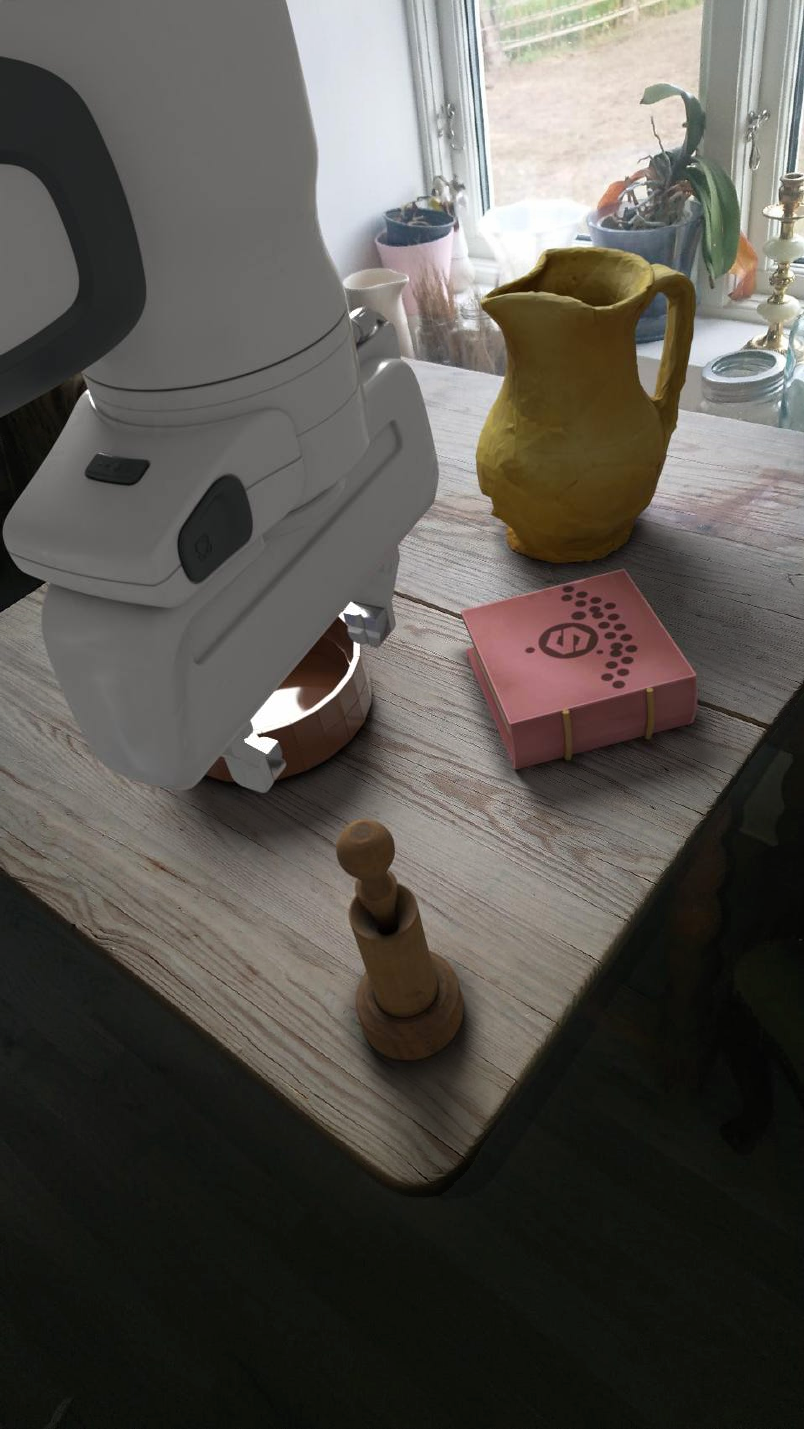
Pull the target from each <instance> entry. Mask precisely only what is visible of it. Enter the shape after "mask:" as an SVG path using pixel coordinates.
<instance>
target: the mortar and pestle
mask: <svg viewBox="0 0 804 1429" xmlns="http://www.w3.org/2000/svg"><path fill="white" fill-rule="evenodd" d="M395 846H396V845H395V840H394V837H393V835H392V833H391V832H390V830H389V829H388V828H387V827H386V826H385V825H384V824H382V823H381V822H379V821H377V820H373V819H367V818H365V819H358V820H355V821H352V822H350V823H349V824H347V825H346V826H345V827H344V828H343V829H342V831H341V832H340V834H339V836H338V838H337V841H336V846H335V853H336V858H337V861H338V864H339V865H340V868H342V870H343V871H345V873H346V874H347V875H349V876H351V877H353V878H354V879H356V881H355V883H354V892H355V896H354V897H353V899H352V900H351V901H350V905H349V907H348V921H349V924H350V927H351V930H352V933H353V936H354V939H355V941H356V945H357V948H358V950H359V953H360V956H361V959H362V963H363V965H364V968H365V973H364V974H363V975H362V977H361V979H360V981H359V983H358V985H357V989H356V992H355V1010H356V1014H357V1017H358V1021H359V1024H360V1026H361V1028H362V1031H363V1034H364V1036H365V1038H366V1039H367V1041H368V1043H369V1044H370V1045H371V1046H372V1047H373V1048H374V1049H375V1050H376V1051H378V1052H379V1053H380V1054H382V1055H383V1056H386V1057H388V1058H390V1059H394V1060H397V1061H417V1060H421V1059H422V1060H423V1059H426V1058H428V1057H431V1056H433V1055H435V1054H437V1053H438V1052H440V1051H441V1050H443V1049H444V1048H445V1047H446V1046H447V1045H449V1043H451V1041H452V1040H453V1039H454V1037H455V1036H456V1034H457V1032H458V1030H459V1029H460V1027H461V1024H462V1022H463V1016H464V1004H465V1003H464V998H463V993H462V989H461V985H460V982H459V978H458V975H457V974H456V972H455V970H454V968H453V966H452V965H451V964H450V963H449V961H448V960H446V959H445V957H443V956H442V955H440V954H438V953H436V952H434V951H432V950H430V949H429V946H428V942H427V937H426V934H425V930H424V926H423V922H422V917H421V913H420V909H419V904H418V901H417V897H416V896H415V895H414V893H413V892H412V891H411V890H410V889H409V888H408V887H406V886H405V885H403V884H400V883H398V880H397V877H396V875H395V873H394V872H393V871H391V870H390V869H389V868H390V867H391V866H392V864H393V861H394V859H395V855H396V847H395Z"/></svg>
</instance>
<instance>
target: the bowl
mask: <svg viewBox="0 0 804 1429" xmlns="http://www.w3.org/2000/svg"><path fill="white" fill-rule="evenodd" d="M343 612H344V611H342V612H341V614H340V615H339V616H338V617H337V618H336V619H335V621H334V622H333V623H332V624H331V625H330V627H329V628H328V629H327V630H326V631H325V632H324V634H323V635H322V636H321V637H320V638H319V640H318V641H317V642H316V643H315V644H314V646H313V647H312V648H311V649H310V650H309V651H308V653H307V654H306V655H305V656H304V657H303V659H302V660H301V661H300V662H299V663H298V665H297V666H296V667H295V668H294V669H293V670H292V672H291V673H290V674H289V675H288V676H287V678H286V679H285V680H284V681H283V682H282V683H281V685H280V686H279V687H278V688H277V689H276V691H275V692H274V693H273V694H272V695H271V696H270V698H269V699H268V700H267V701H266V702H265V704H264V705H263V706H262V707H261V708H260V709H259V711H258V712H257V713H256V714H255V715H254V717H253V718H252V719H251V723H252V726H253V733H254V734H256V735H257V736H258V738H263V737H267V738H270V739H273V740H276V741H279V744H280V747H281V750H282V759H284V760H285V762H286V767H285V768H284V769H283V771H282V772H281V773H280V775H279V776H278V777H277V779H276V780H275V781H278V780H281V779H284V778H288V777H290V776H294V775H296V774H300V773H303V772H306V771H309V770H310V769H312V768H314V767H315V766H318V765H319V764H321V763H323V762H325V761H327V760H329V759H330V758H331V757H333V756H334V755H335V754H336V753H338V752H339V751H340V750H341V749H342V748H344V747H345V746H346V745H347V744H348V743H350V742H351V741H352V739H353V738H354V736H356V734H357V733H358V732H359V730H360V729H361V727H362V726H363V724H364V723H365V721H366V719H367V716H368V713H369V710H370V707H371V704H372V682H371V677H370V673H369V669H368V664H367V661H366V660H367V659H366V657H365V653H364V648H363V645H361V644H357V643H356V642H354V641H352V639H351V638H350V637H349V635H348V625H347V624H346V623H345V619H344V615H343ZM204 776H207V777H211V778H214V779H217V780H220V781H224V782H230V783H231V782H232V783H237V782H236V781H235V780H234V779H233V778H232V776H231V773H230V771H229V768H228V766H227V764H226V761H225V759H224V757H221V756H220V757H219V758H218V759H217V760H216V762H215V763H214V764H213V765H212V766H211V768H210V769H209V770H208V771H207V773H206V774H205V775H204Z"/></svg>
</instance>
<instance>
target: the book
mask: <svg viewBox="0 0 804 1429" xmlns="http://www.w3.org/2000/svg"><path fill="white" fill-rule="evenodd" d="M460 615H461V619H462V621H463V622H462V623H463V624H464V626H465V629H466V632H467V634H468V636H469V638H470V641H471V643H472V647H470V648H469V647H468V648H466V649H465V652H466V657H467V659H468V661H469V664H470V666H471V669H472V672H473V674H474V676H475V678H476V681H477V683H478V686H479V688H480V690H481V693H482V695H483V697H484V700H485V703H486V705H487V707H488V710H489V712H490V715H491V718H492V719H493V722H494V724H495V727H496V729H497V731H498V734H499V736H500V739H501V741H502V743H503V746H504V748H505V750H506V753H507V755H508V758H509V760H510V764H511V765H512V768H513V770H514V771H516V770H519V769H523V768H527V767H531V766H534V765H535V766H536V765H538V764H543V763H546V762H550V761H554V760H558V759H562V758H564V760H565V761H571V759H572V756H573V755H577V754H580V753H581V754H582V753H584V752H588V751H592V750H596V749H599V748H604V747H607V746H610V745H615V744H618V743H622V742H626V741H630V740H634V739H638V738H640V737H644V738H645V739H647V740H650V739H652V735H653V734H656V733H660V732H663V731H668V730H671V729H675V728H679V727H683V726H686V725H690V724H693V723H694V721H695V718H696V714H697V710H698V697H699V693H698V677H697V675H698V674H696V672H695V671H694V669H693V668H692V666H691V664H690V663H689V662H688V660H687V658H686V657H685V656H684V654H683V653H682V651H681V650H680V648H679V647H678V645H677V644H676V643H675V641H674V639H673V638H672V636H671V635H670V634H669V632H668V631H667V629H666V628H665V627H664V625H663V624H662V622H661V620H660V619H659V617H658V616H657V614H656V613H655V611H654V610H653V609H652V607H651V606H650V604H649V603H648V601H647V600H646V598H645V597H644V595H643V594H642V592H641V591H640V590H639V588H638V587H637V585H636V583H635V582H634V581H633V579H632V578H631V576H630V575H629V573H628V572H627V571H626V569H625V568H620V569H618V570H614V571H610V572H605V573H601V574H598V575H593V576H590V577H586V578H581V579H578V580H574V581H571V582H567V583H562V584H559V585H554V586H550V587H547V588H543V589H539V590H534V591H531V592H527V593H523V594H519V595H516V596H511V597H507V598H504V599H500V600H496V601H492V602H488V603H484V604H481V605H477V606H473V607H468V608H464V609H461V610H460Z"/></svg>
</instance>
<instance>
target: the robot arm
mask: <svg viewBox="0 0 804 1429" xmlns="http://www.w3.org/2000/svg"><path fill="white" fill-rule="evenodd" d="M287 2H288V1H287V0H0V418H2V417H4V416H6V415H9V414H10V413H11V412H14V411H16V410H18V409H19V408H22V407H23V406H26V404H28V403H30V402H32V401H34V400H35V399H38V398H39V397H40V396H44V394H47V393H49V392H50V391H52V390H53V389H56V388H57V387H59V386H60V385H62V384H64V383H65V382H67V381H68V380H70V379H72V378H74V377H75V376H77V375H78V374H80V373H81V375H82V377H83V380H84V382H85V385H86V388H87V389H86V390H85V391H84V392H82V394H81V395H80V397H79V398H78V400H77V401H76V403H75V405H74V407H73V409H72V411H71V413H70V415H69V418H68V420H67V421H66V424H65V425H64V427H63V429H62V431H61V433H60V434H59V436H58V437H57V439H56V441H55V443H54V444H53V445H52V448H51V449H50V450H49V453H48V454H47V456H46V457H45V459H44V460H43V462H42V463H41V465H40V466H39V468H38V469H37V471H36V472H35V474H34V476H33V477H32V478H31V480H30V481H29V482H28V483H27V485H26V487H25V489H23V491H22V493H21V494H20V495H19V497H18V498H17V500H16V501H15V502H14V504H13V506H12V508H11V509H10V510H9V512H8V514H7V516H6V518H5V520H4V522H3V526H2V538H3V539H2V540H3V542H4V545H5V548H6V550H7V552H8V554H9V557H10V558H11V560H12V561H13V563H14V564H15V565H16V567H17V568H18V569H19V570H20V571H21V572H23V573H25V574H27V575H29V576H31V577H34V578H37V579H38V580H41V581H43V582H46V583H49V585H48V586H47V589H46V590H45V594H44V597H43V600H42V606H41V615H40V616H41V617H40V618H41V619H40V620H41V622H40V623H41V632H42V638H43V642H44V646H45V650H46V653H47V656H48V660H49V662H50V664H51V667H52V669H53V672H54V675H55V677H56V679H57V682H58V685H59V687H60V690H61V692H62V694H63V697H64V699H65V702H66V703H67V706H68V709H69V710H70V712H71V714H72V717H73V718H74V721H75V722H76V724H77V726H78V729H79V730H80V732H81V734H82V737H84V740H85V742H86V744H87V746H88V747H89V749H90V751H91V752H92V754H93V755H94V756H95V758H96V759H97V760H98V761H99V762H100V763H101V764H102V765H103V766H105V768H108V769H109V770H111V771H112V772H115V773H117V774H118V775H120V776H123V777H125V778H128V779H130V780H132V781H135V782H137V783H142V784H144V785H148V786H151V787H155V788H161V789H168V790H177V791H185V790H190V789H192V788H194V787H195V786H196V785H197V784H198V783H199V782H200V781H201V780H202V779H203V777H205V776H206V775H205V774H206V773H207V771H208V770H209V769H210V768H211V766H212V765H213V764H214V763H215V762H216V760H217V759H218V758H219V757H220V756H221V757H224V759H225V761H226V764H227V766H228V768H229V771H230V773H231V776H232V778H233V779H234V780H235V781H236V782H235V783H237V784H238V785H239V786H241V787H243V788H246V789H249V790H252V791H255V792H258V793H260V794H265V793H268V791H269V790H270V789H271V787H272V786H273V785H274V783H275V781H277V780H276V779H277V777H278V776H279V775H280V773H281V772H282V771H283V769H284V768H285V767H286V762H285V760H284V759H282V750H281V747H280V744H279V741H276V740H273V739H270V738H267V737H263V738H258V736H257V735H256V734H254V733H253V726H252V723H251V719H252V718H253V717H254V715H255V714H256V713H257V712H258V711H259V709H260V708H261V707H262V706H263V705H264V704H265V702H266V701H267V700H268V699H269V698H270V696H271V695H272V694H273V693H274V692H275V691H276V689H277V688H278V687H279V686H280V685H281V683H282V682H283V681H284V680H285V679H286V678H287V676H288V675H289V674H290V673H291V672H292V670H293V669H294V668H295V667H296V666H297V665H298V663H299V662H300V661H301V660H302V659H303V657H304V656H305V655H306V654H307V653H308V651H309V650H310V649H311V648H312V647H313V646H314V644H315V643H316V642H317V641H318V640H319V638H320V637H321V636H322V635H323V634H324V632H325V631H326V630H327V629H328V628H329V627H330V625H331V624H332V623H333V622H334V621H335V619H336V618H337V617H338V616H339V615H340V614H341V612H343V615H344V619H345V623H346V624H347V625H348V635H349V637H350V638H351V639H352V641H354V642H356V643H357V644H361V645H362V646H363V645H368V646H369V647H371V648H379V647H381V646H382V644H383V643H384V642H385V641H386V640H387V639H388V637H389V636H390V634H391V633H392V632H393V631H394V630H395V628H396V626H397V622H396V617H395V611H394V605H393V602H392V600H393V599H394V594H395V588H396V581H397V576H398V570H399V566H400V565H399V564H400V559H401V555H400V549H399V545H400V544H401V543H402V541H404V539H405V538H406V537H407V536H408V534H409V533H410V532H411V531H412V529H413V528H414V527H415V526H416V525H417V524H418V523H419V522H420V520H421V519H422V518H423V517H424V515H425V514H426V513H427V512H428V511H429V510H430V508H431V507H432V506H433V505H434V503H435V500H436V496H437V490H438V485H439V478H440V469H439V468H440V467H439V462H438V456H437V451H436V446H435V442H434V437H433V432H432V428H431V424H430V420H429V415H428V411H427V406H426V403H425V401H424V397H423V394H422V393H423V392H422V390H421V389H422V388H421V386H420V384H419V381H418V379H417V375H416V373H415V372H414V370H413V369H412V367H411V366H410V365H409V363H408V362H406V361H405V360H403V359H402V356H401V350H400V344H399V337H398V333H397V329H396V327H395V324H394V322H392V321H389V320H388V319H387V317H386V316H385V314H382V312H380V311H377V310H373V309H372V308H371V307H368V306H361V307H357V308H355V309H353V310H351V311H350V308H349V303H348V299H347V298H348V297H347V293H346V290H345V285H344V283H343V279H342V277H341V275H340V272H339V270H338V268H337V266H336V263H335V262H334V260H333V259H332V257H331V255H330V251H329V250H328V247H327V245H326V243H325V240H324V236H323V233H322V230H321V224H320V220H319V213H318V212H319V211H318V198H317V197H318V196H317V195H318V176H319V175H318V174H319V162H320V161H319V146H318V139H317V134H316V128H315V124H314V120H313V119H314V118H313V114H312V108H311V104H310V99H309V94H308V90H307V85H306V81H305V76H304V71H303V67H302V66H303V65H302V63H301V62H302V61H301V58H300V53H299V48H298V44H297V40H296V34H295V32H294V28H293V23H292V19H291V15H290V10H289V7H288V3H287Z"/></svg>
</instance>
